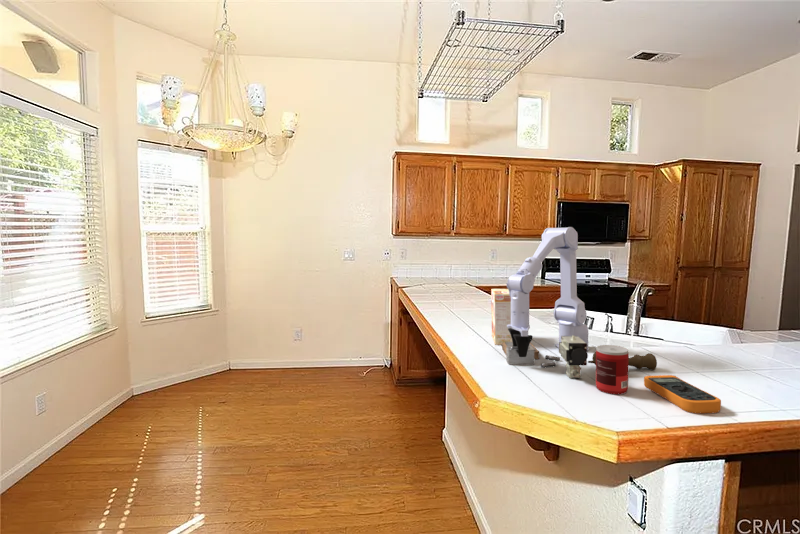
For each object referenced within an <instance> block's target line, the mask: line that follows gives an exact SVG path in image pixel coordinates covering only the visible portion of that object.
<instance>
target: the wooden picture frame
mask: <svg viewBox="0 0 800 534" xmlns="http://www.w3.org/2000/svg"><path fill="white" fill-rule="evenodd" d="M506 346H513V342H502V345H501V348H502V351H503V353H504V354H505V355H506ZM529 346H531V347H532V348H533V349H534V360H540V351H539V350H538V349H537V347H535V346H534V345H533V343H532V342H530V344H529Z"/></svg>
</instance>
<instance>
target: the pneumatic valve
mask: <svg viewBox="0 0 800 534" xmlns="http://www.w3.org/2000/svg"><path fill="white" fill-rule="evenodd" d="M558 344H559V348H558V353H559V354H560V356H561V358H562V359H563V360H564V361H565V362H566V363H565V368H566V369H565V370H566V371H565V375H566V376H567V377H568V379H572V378H573V379H574V378H575V379H577V378H578V379H582V374H581V373H582V371H581V370H582V366H587V365H588V364H587V363H588V357H589V355H588V351H587V343H585V342H584V341H583V340H582V339H580V338H579V337H578V336H574V335H572V336H561V342H559V341H558Z"/></svg>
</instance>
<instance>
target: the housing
mask: <svg viewBox="0 0 800 534" xmlns="http://www.w3.org/2000/svg"><path fill="white" fill-rule="evenodd" d="M505 356H506V363H507V365H508V366H509V365H510V366H511V365H512V366H518V365H519V366H524V365H525V366H526V365H527V366H534V365H535V359H534V349H533V348H532V347H531V346H529V347H528V351H527V355H526V357H519V355H518V349H517V346H506V354H505Z"/></svg>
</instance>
